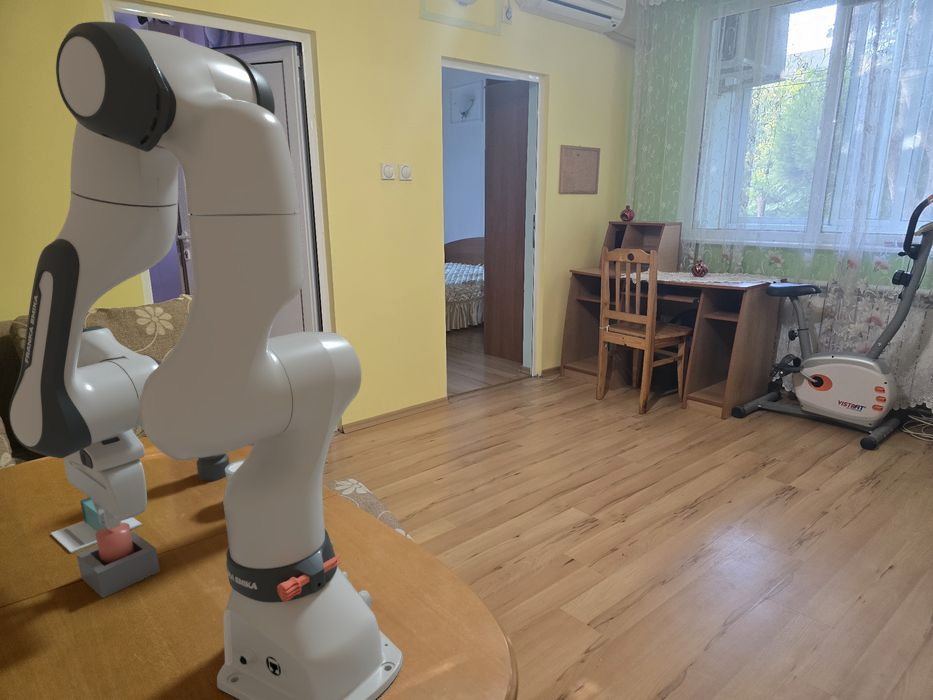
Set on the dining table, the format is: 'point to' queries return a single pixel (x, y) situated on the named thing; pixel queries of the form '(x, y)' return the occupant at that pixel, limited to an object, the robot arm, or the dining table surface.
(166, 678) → the dining table surface
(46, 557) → the dining table surface
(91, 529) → the sketch sheet
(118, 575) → the button box
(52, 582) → the dining table surface
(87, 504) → the teal rectangular block
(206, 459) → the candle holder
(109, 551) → the button
